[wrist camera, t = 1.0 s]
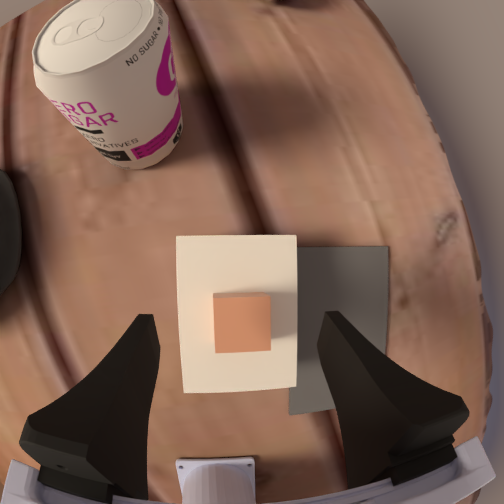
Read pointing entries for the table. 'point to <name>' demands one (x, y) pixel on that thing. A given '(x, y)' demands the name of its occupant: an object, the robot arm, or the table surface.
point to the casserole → (9, 232)
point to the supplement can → (113, 77)
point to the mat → (335, 299)
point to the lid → (237, 312)
